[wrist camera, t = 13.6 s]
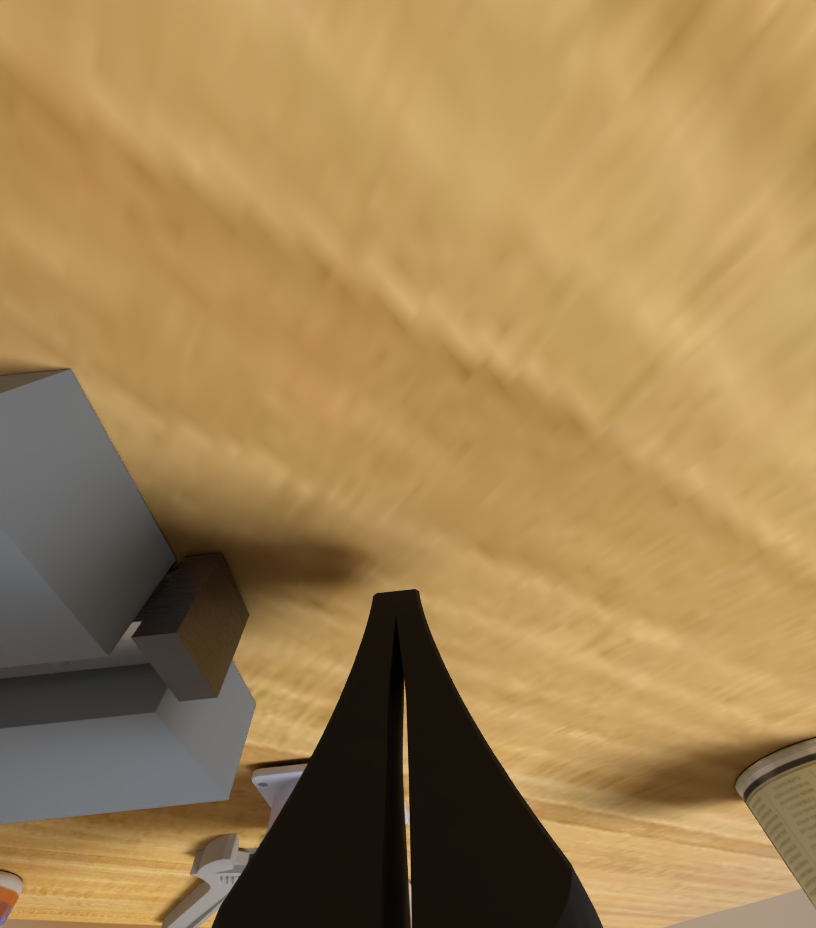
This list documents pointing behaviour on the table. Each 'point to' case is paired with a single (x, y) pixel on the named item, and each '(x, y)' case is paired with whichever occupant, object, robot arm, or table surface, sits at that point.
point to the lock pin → (176, 632)
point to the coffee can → (787, 807)
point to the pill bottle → (8, 893)
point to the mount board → (89, 627)
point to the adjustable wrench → (210, 881)
